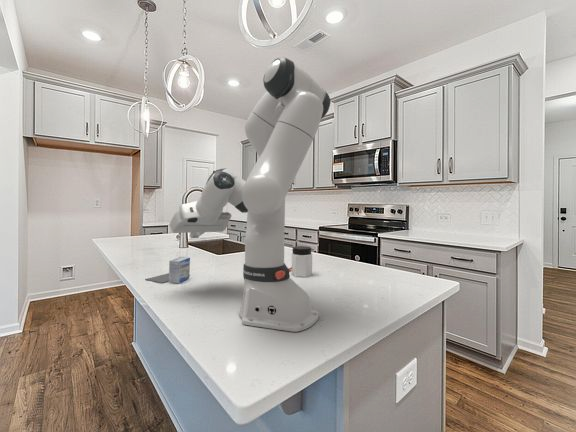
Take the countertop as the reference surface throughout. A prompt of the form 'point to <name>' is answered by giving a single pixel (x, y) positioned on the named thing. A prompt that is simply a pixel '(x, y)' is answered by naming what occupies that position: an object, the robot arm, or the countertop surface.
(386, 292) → the countertop surface
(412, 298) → the countertop surface
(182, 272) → the medicine box
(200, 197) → the robot arm
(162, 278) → the mat
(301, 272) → the jar
